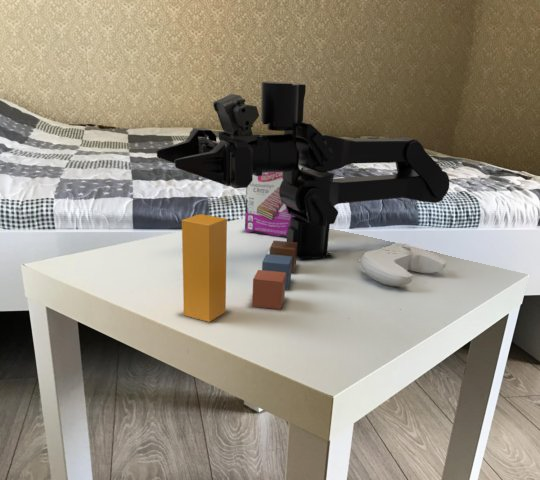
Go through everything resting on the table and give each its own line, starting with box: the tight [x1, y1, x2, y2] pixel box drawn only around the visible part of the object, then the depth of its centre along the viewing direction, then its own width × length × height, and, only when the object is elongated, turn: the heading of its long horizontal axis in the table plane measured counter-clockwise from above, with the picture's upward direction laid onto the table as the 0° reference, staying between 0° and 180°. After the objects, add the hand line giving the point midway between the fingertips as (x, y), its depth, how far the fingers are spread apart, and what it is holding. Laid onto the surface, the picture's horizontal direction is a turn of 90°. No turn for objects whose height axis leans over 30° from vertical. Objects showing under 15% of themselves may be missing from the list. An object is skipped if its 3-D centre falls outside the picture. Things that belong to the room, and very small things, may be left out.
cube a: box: [269, 240, 298, 274], centre depth 93 cm, size 4×4×4 cm
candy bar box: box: [244, 165, 309, 238], centre depth 110 cm, size 11×5×16 cm, turn 71°
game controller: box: [358, 242, 447, 287], centre depth 93 cm, size 14×4×10 cm
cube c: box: [251, 269, 286, 310], centre depth 80 cm, size 4×4×4 cm
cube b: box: [261, 253, 292, 291], centre depth 86 cm, size 4×4×4 cm
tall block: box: [181, 213, 228, 323], centre depth 73 cm, size 4×4×12 cm
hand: (165, 158), depth 84 cm, fingers open, 9 cm apart
